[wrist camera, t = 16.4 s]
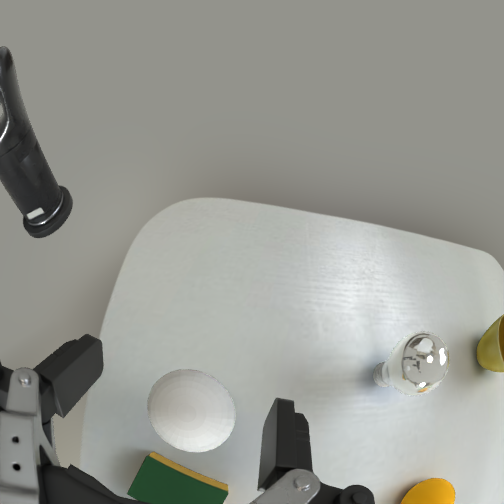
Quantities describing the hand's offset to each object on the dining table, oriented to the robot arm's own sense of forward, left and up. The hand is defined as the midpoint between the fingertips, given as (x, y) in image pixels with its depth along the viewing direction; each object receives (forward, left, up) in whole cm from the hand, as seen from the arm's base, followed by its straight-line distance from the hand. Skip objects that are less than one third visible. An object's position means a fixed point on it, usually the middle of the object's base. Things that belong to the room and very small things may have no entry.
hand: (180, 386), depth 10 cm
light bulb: (+19, +10, -20) cm, 29 cm away
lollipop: (0, -1, -20) cm, 20 cm away
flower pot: (+42, +19, -20) cm, 50 cm away
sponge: (+2, -12, -19) cm, 23 cm away
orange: (+33, -7, -20) cm, 39 cm away
